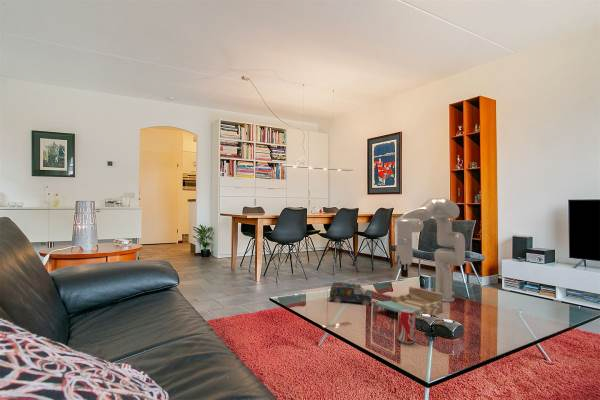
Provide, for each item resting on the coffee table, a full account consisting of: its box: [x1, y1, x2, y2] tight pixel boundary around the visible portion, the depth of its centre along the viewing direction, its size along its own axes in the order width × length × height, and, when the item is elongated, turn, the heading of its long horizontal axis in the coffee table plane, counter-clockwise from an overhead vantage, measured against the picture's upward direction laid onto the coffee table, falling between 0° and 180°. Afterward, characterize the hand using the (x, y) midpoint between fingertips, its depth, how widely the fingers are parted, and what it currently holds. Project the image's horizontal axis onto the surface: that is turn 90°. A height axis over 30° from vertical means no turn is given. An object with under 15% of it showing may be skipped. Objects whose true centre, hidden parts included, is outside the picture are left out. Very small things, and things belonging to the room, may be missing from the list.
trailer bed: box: [390, 286, 443, 316], centre depth 182 cm, size 20×20×10 cm
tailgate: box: [375, 300, 420, 313], centre depth 172 cm, size 2×19×12 cm
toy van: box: [328, 282, 373, 306], centre depth 196 cm, size 11×25×10 cm, turn 76°
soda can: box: [396, 308, 417, 345], centre depth 139 cm, size 7×7×13 cm
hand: (404, 276), depth 176 cm, fingers closed
